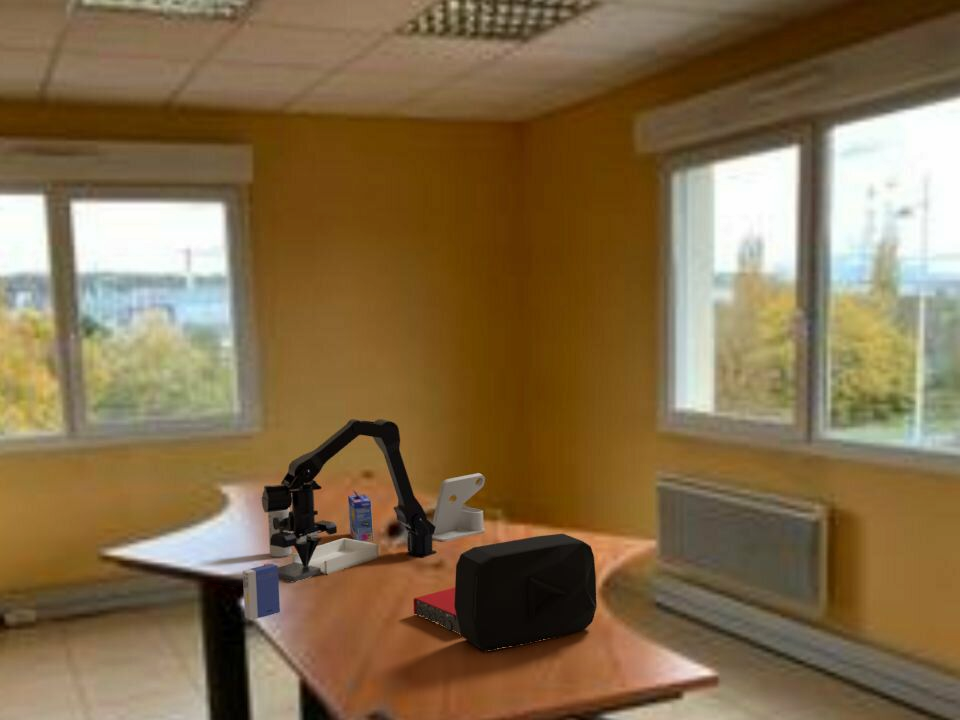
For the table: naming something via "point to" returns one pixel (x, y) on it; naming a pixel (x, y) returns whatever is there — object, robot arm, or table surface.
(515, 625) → the black hard case
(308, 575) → the cover plate
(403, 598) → the table surface
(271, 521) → the energy drink can
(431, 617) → the red device housing
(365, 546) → the tray
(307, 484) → the robot arm
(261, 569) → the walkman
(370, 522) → the ink cartridge box
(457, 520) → the phone holder
